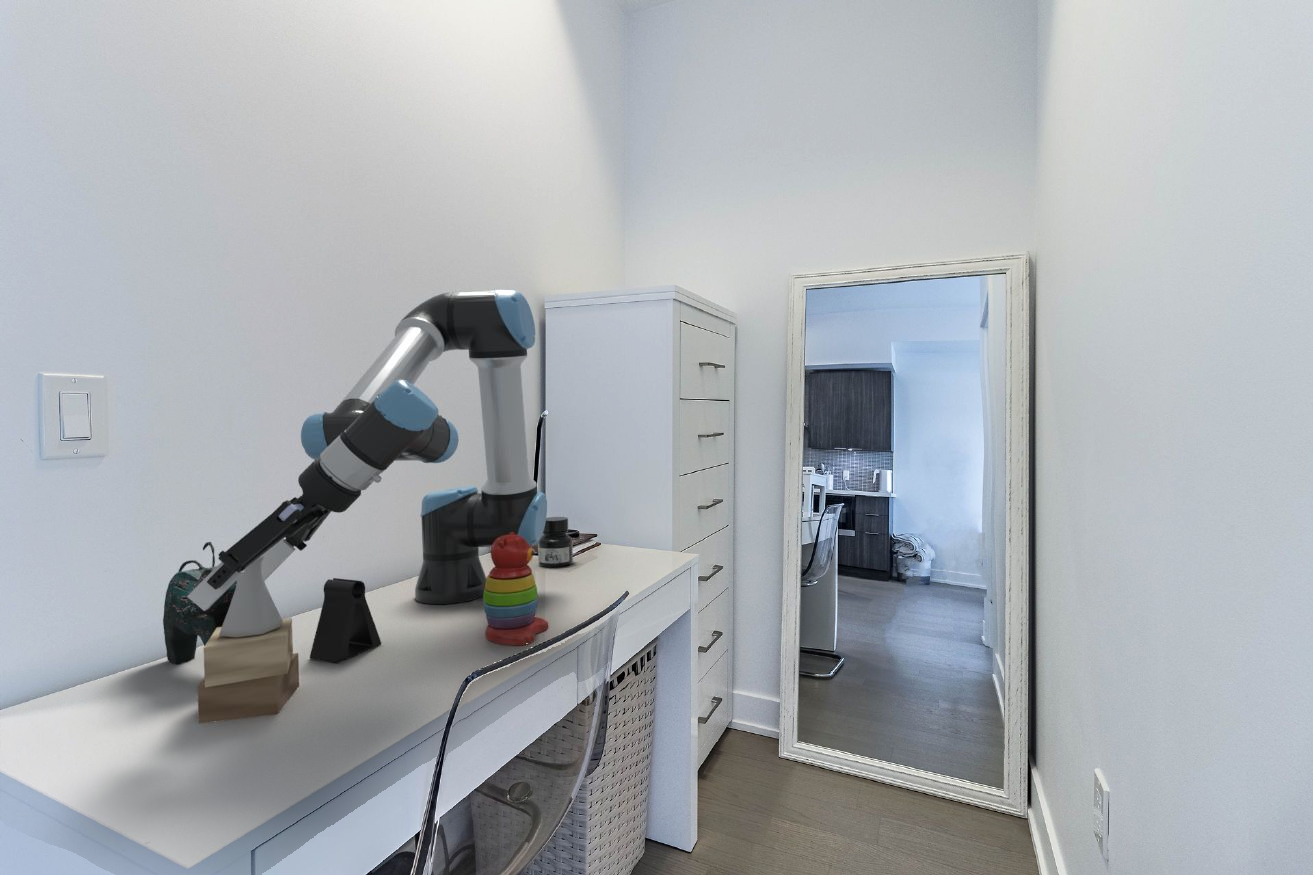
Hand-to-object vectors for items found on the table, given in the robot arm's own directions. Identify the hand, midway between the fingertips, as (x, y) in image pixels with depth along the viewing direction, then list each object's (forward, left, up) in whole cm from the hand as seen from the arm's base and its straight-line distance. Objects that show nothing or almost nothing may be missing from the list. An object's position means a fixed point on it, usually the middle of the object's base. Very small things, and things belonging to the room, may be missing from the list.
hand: (228, 588), depth 85 cm
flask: (0, +3, -6) cm, 7 cm away
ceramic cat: (-15, -10, -16) cm, 24 cm away
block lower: (+1, +3, -16) cm, 16 cm away
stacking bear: (-18, +37, -16) cm, 44 cm away
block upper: (+1, +3, -11) cm, 11 cm away
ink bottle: (-71, +48, -16) cm, 87 cm away
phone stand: (-17, +10, -16) cm, 25 cm away
